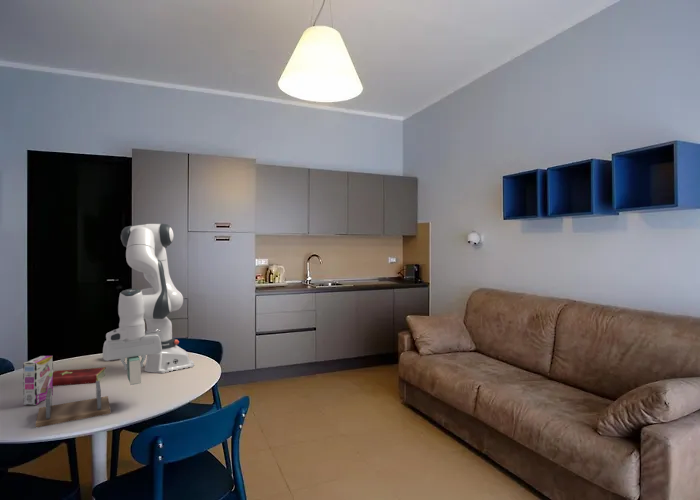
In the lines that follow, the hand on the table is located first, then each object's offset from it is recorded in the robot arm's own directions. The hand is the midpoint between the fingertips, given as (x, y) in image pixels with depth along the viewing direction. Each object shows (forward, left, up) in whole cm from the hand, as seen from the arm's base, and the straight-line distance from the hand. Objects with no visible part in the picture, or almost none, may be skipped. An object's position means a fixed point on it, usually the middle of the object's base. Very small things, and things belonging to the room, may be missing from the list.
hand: (133, 368), depth 168 cm
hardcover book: (+19, -45, -14) cm, 51 cm away
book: (0, 0, -5) cm, 5 cm away
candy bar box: (+31, -24, -14) cm, 42 cm away
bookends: (+19, -2, -12) cm, 23 cm away
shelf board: (+19, -2, -14) cm, 24 cm away
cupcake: (+1, -75, -14) cm, 76 cm away
